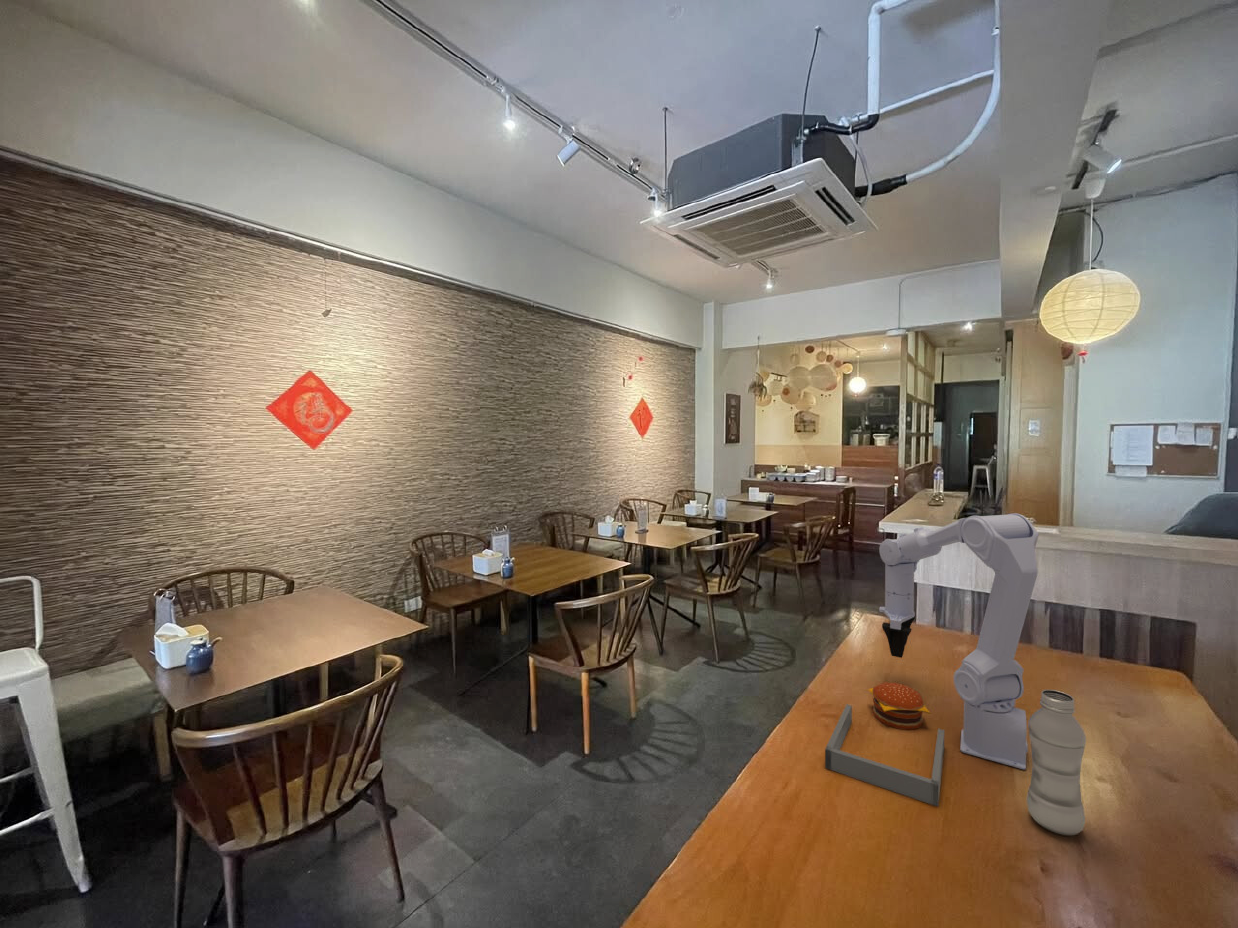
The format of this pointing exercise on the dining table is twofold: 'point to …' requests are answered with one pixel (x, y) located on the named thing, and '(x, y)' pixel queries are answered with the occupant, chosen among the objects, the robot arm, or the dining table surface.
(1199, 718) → the dining table surface
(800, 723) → the dining table surface
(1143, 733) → the dining table surface
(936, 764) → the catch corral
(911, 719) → the hamburger
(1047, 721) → the plastic bottle
